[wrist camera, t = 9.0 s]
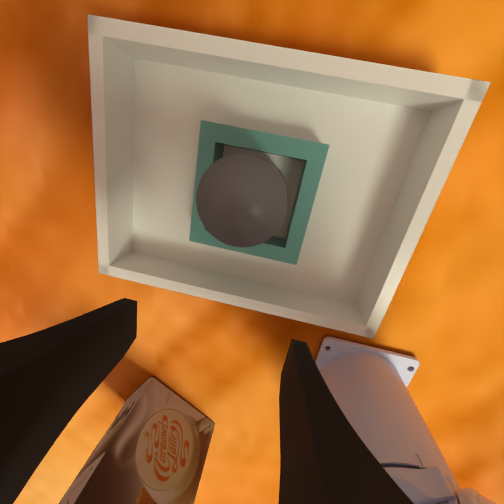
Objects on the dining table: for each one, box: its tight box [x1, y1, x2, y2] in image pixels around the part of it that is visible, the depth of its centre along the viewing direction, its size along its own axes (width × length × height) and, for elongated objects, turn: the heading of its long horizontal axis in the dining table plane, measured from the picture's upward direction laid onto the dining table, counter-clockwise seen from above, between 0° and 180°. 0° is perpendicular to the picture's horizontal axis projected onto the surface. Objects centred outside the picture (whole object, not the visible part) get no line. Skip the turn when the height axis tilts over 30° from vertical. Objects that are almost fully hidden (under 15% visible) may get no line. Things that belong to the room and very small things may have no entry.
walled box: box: [87, 14, 490, 339], centre depth 16 cm, size 15×20×4 cm
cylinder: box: [196, 154, 287, 247], centre depth 14 cm, size 4×4×7 cm
